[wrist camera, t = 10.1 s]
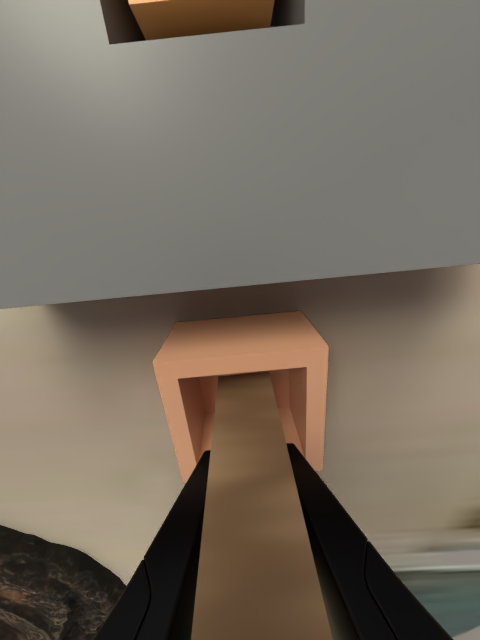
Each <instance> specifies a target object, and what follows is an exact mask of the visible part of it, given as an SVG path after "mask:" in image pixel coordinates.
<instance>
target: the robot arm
mask: <svg viewBox="0 0 480 640" xmlns="http://www.w3.org/2000/svg"><path fill="white" fill-rule="evenodd" d="M286 445H287V449H288V453H289V457H290V462H291V466H292V470H293V474H294V478H295V483H296V487H297V491H298V495H299V500H300V504H301V508H302V512H303V516H304V521H305V525H306V529H307V533H308V537H309V542H310V546H311V550H312V554H313V558H314V563H315V567H316V571H317V575H318V579H319V584H320V588H321V592H322V596H323V601H324V605H325V609H326V613H327V617H328V622H329V626H330V630H331V634H332V638H333V640H453V639H452V638H451V636H450V635H449V634H448V633H447V632H446V631H445V630H444V629H443V628H442V626H441V625H440V624H439V623H438V622H437V621H436V620H435V619H434V618H433V616H432V615H431V614H430V613H429V612H428V611H427V610H426V609H425V608H424V607H423V605H422V604H421V603H420V602H419V601H418V600H417V599H416V597H415V596H414V595H413V594H412V593H411V592H410V591H409V589H408V588H407V587H406V586H405V585H404V584H403V583H402V581H401V580H400V579H399V578H398V577H397V575H396V574H395V573H394V572H393V570H392V569H391V568H390V567H389V565H388V564H387V563H386V562H385V561H384V559H383V558H382V557H381V556H380V554H379V553H378V552H377V550H376V549H375V548H374V546H373V545H372V544H371V543H370V542H369V541H368V542H367V538H366V536H365V535H364V534H363V532H362V531H361V530H360V528H359V527H358V526H357V525H356V523H355V522H354V521H353V519H352V518H351V517H350V516H349V514H348V513H347V512H346V510H345V509H344V508H343V506H342V505H341V504H340V503H339V501H338V500H337V499H336V497H335V496H334V495H333V493H332V492H331V491H330V490H329V488H328V487H327V486H326V484H325V483H324V482H323V481H322V479H321V478H320V477H319V475H318V474H317V473H316V471H315V470H314V469H313V468H312V466H311V465H310V464H309V462H308V461H307V460H306V458H305V457H304V456H303V455H302V453H301V452H300V451H299V449H298V448H297V447H296V446H295V444H293V443H286ZM210 452H211V450H206V451H204V453H203V454H202V456H201V458H200V460H199V461H198V463H197V465H196V467H195V468H194V470H193V472H192V474H191V475H190V477H189V479H188V481H187V482H186V484H185V486H184V488H183V489H182V491H181V493H180V495H179V496H178V498H177V500H176V502H175V503H174V505H173V507H172V509H171V510H170V512H169V514H168V516H167V517H166V519H165V521H164V523H163V524H162V526H161V528H160V530H159V531H158V533H157V535H156V537H155V538H154V540H153V542H152V544H151V545H150V547H149V549H148V551H147V552H146V554H145V556H144V560H142V561H141V563H140V564H139V566H138V568H137V570H136V571H135V573H134V575H133V577H132V578H131V580H130V582H129V583H128V585H127V587H126V588H125V590H124V592H123V593H122V595H121V597H120V598H119V600H118V602H117V603H116V605H115V606H114V608H113V609H112V611H111V612H110V614H109V615H108V617H107V618H106V620H105V621H104V623H103V625H102V626H101V628H100V629H99V631H98V632H97V634H96V635H95V637H94V638H93V640H191V635H192V625H193V615H194V606H195V596H196V587H197V577H198V567H199V558H200V548H201V538H202V529H203V519H204V510H205V500H206V490H207V481H208V471H209V461H210Z"/></svg>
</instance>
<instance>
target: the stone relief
mask: <svg viewBox="0 0 480 640" xmlns="http://www.w3.org/2000/svg"><path fill="white" fill-rule="evenodd" d="M126 587H127V586H126V585H125V584H123V582H122V581H121V579H120V578H119V577H117V576H116V575H115V574H114V573H112V572H111V571H110V570H109V569H107V568H106V567H104V566H102V565H101V564H100V563H98V562H97V561H95V560H94V559H93V558H91V557H90V556H88V555H87V554H85V553H83V552H81V551H79V550H77V549H74V548H72V547H68V546H65V545H60V544H55V543H50V542H48V541H46V540H44V539H42V538H40V537H37V536H35V535H31V534H25V533H22V532H19V531H17V530H14V529H11V528H8V527H4V526H1V525H0V640H93V638H94V637H95V635H96V634H97V632H98V631H99V629H100V628H101V626H102V625H103V623H104V621H105V620H106V618H107V617H108V615H109V614H110V612H111V611H112V609H113V608H114V606H115V605H116V603H117V602H118V600H119V598H120V597H121V595H122V593H123V592H124V590H125V588H126Z"/></svg>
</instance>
